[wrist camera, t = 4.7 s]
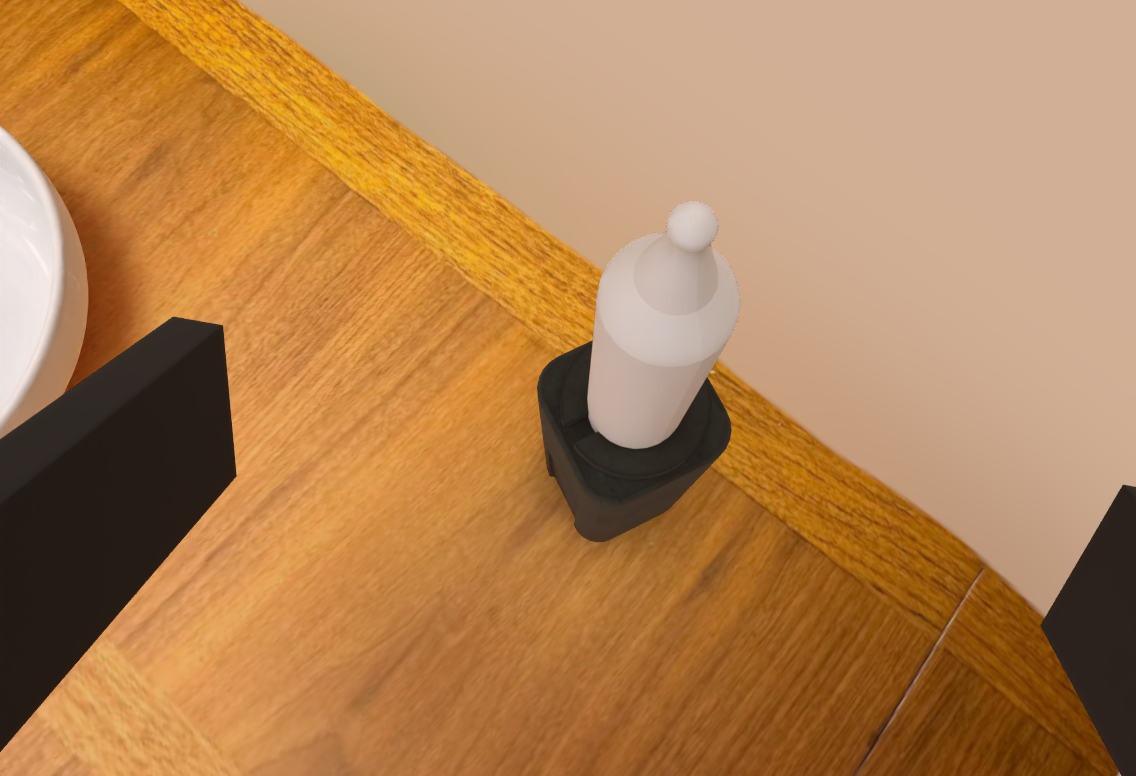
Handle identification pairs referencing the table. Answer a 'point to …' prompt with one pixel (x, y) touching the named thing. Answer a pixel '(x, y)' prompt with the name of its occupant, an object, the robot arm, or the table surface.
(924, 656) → the table surface
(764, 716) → the table surface
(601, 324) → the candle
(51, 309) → the serving bowl
